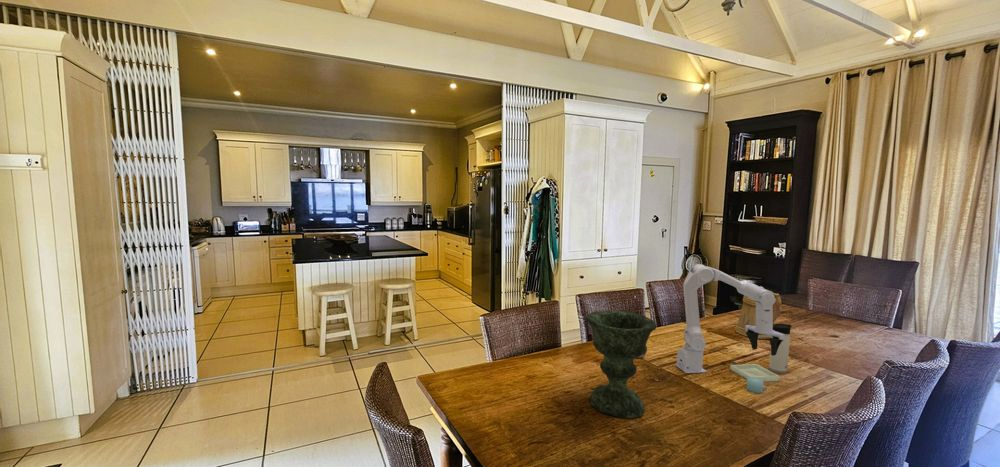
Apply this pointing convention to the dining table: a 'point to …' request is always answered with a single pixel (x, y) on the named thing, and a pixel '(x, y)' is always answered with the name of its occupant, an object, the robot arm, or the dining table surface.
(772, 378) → the tray
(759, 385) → the tabbed cylinder
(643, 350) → the goblet
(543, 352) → the dining table surface
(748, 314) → the tankard
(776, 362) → the travel mug
